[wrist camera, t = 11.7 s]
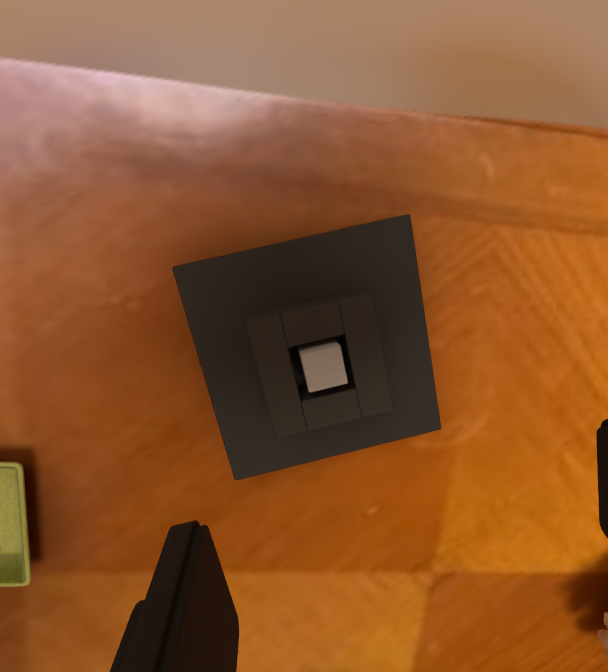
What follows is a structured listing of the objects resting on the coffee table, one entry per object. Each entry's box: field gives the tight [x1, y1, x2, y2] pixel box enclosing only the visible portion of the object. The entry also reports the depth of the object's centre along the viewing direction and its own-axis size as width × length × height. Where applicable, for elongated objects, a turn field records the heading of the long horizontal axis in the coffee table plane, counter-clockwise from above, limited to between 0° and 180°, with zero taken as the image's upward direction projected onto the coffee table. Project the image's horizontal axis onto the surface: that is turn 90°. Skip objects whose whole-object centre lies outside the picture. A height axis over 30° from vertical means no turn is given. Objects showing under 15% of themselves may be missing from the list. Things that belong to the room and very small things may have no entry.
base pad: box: [172, 214, 441, 480], centre depth 23 cm, size 14×14×4 cm
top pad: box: [246, 289, 393, 439], centre depth 23 cm, size 7×7×2 cm
